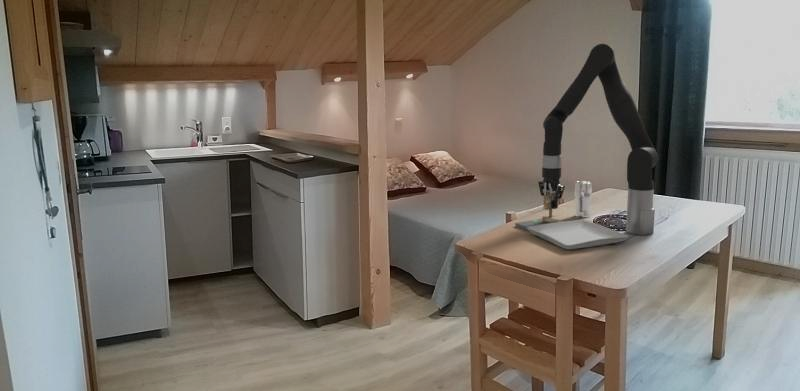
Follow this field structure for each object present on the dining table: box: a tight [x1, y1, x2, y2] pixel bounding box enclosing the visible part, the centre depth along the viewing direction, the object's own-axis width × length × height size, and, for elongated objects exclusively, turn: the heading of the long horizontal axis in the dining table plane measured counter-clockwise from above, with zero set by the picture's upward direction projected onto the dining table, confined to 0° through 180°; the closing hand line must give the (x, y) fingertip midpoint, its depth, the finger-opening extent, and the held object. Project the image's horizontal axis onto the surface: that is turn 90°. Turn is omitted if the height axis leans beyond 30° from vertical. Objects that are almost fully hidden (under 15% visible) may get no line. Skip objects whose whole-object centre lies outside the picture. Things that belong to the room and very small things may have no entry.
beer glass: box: [574, 180, 593, 218], centre depth 270 cm, size 7×7×15 cm
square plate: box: [526, 219, 629, 250], centre depth 236 cm, size 27×27×4 cm
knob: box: [534, 193, 560, 224], centre depth 255 cm, size 6×11×11 cm, turn 117°
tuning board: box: [514, 218, 564, 232], centre depth 255 cm, size 12×18×2 cm
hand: (550, 207), depth 256 cm, fingers open, 3 cm apart
